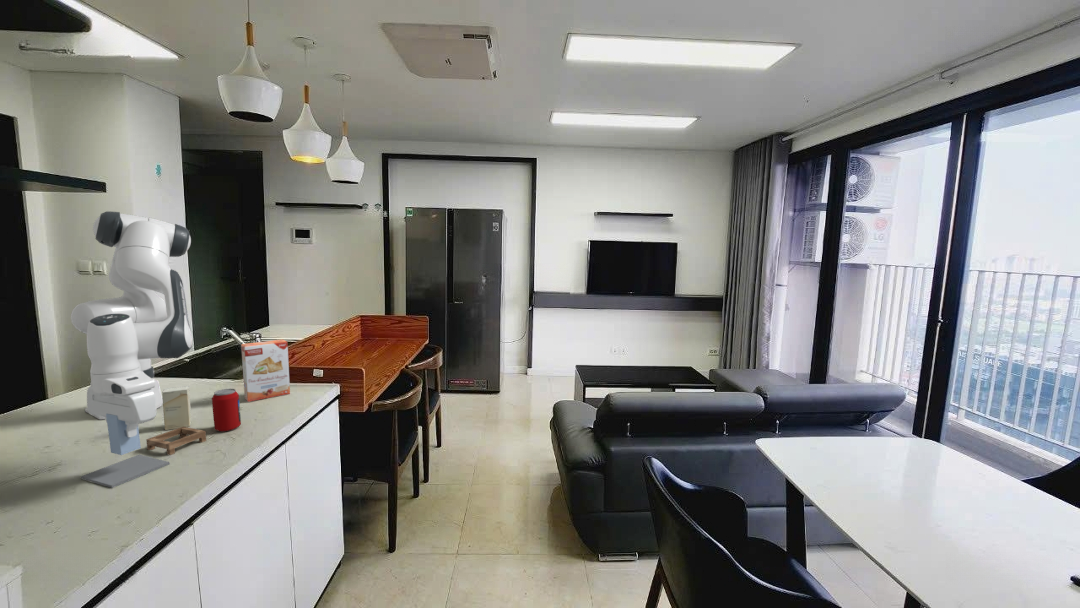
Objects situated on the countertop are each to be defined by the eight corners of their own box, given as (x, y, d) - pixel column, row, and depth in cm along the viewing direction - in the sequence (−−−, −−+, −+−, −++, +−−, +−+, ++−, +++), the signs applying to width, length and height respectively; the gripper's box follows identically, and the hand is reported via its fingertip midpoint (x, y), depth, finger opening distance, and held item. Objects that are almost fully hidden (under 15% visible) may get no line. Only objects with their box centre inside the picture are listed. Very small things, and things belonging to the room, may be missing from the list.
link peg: (111, 452, 107) (106, 413, 106) (130, 445, 111) (125, 408, 110) (121, 455, 106) (116, 415, 105) (140, 448, 110) (136, 410, 108)
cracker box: (248, 402, 157) (243, 346, 155) (244, 398, 162) (240, 343, 159) (291, 394, 167) (287, 340, 164) (286, 390, 171) (283, 338, 169)
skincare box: (164, 430, 133) (160, 392, 131) (167, 425, 137) (163, 388, 135) (190, 426, 136) (187, 389, 135) (192, 421, 140) (189, 385, 138)
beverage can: (246, 424, 138) (243, 388, 137) (229, 433, 131) (226, 395, 130) (226, 423, 139) (223, 387, 137) (208, 432, 132) (205, 394, 130)
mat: (80, 478, 105) (80, 476, 105) (139, 456, 117) (139, 454, 117) (111, 487, 101) (111, 485, 101) (169, 464, 113) (169, 461, 113)
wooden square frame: (147, 449, 121) (146, 439, 120) (184, 436, 129) (183, 426, 129) (170, 455, 118) (169, 444, 117) (206, 440, 126) (205, 431, 126)
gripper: (74, 380, 106) (81, 433, 108) (128, 389, 100) (135, 446, 102) (106, 373, 112) (113, 424, 114) (159, 381, 106) (165, 435, 108)
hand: (124, 434), depth 108 cm, fingers closed on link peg, 4 cm apart
